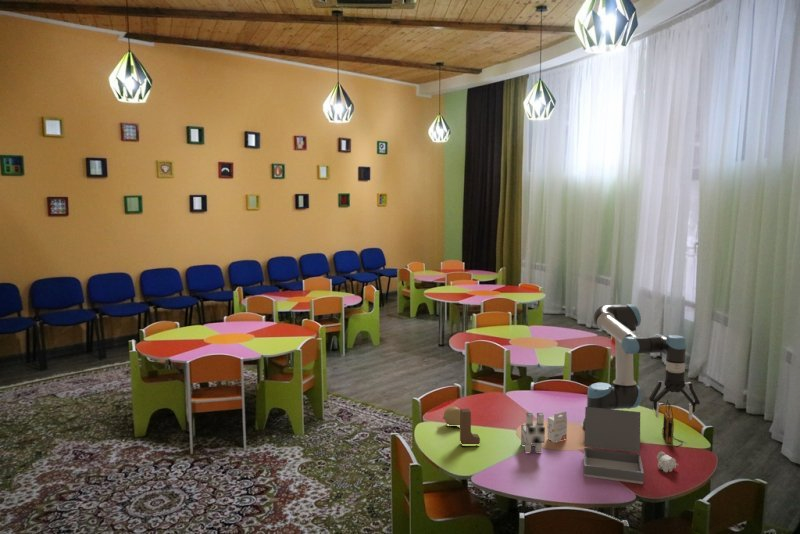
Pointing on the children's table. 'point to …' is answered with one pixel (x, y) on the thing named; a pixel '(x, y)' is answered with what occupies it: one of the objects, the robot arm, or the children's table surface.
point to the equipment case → (613, 465)
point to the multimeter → (668, 427)
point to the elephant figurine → (666, 462)
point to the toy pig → (452, 416)
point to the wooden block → (467, 428)
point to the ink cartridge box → (557, 427)
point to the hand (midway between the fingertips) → (673, 417)
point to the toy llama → (533, 432)
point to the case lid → (612, 429)
